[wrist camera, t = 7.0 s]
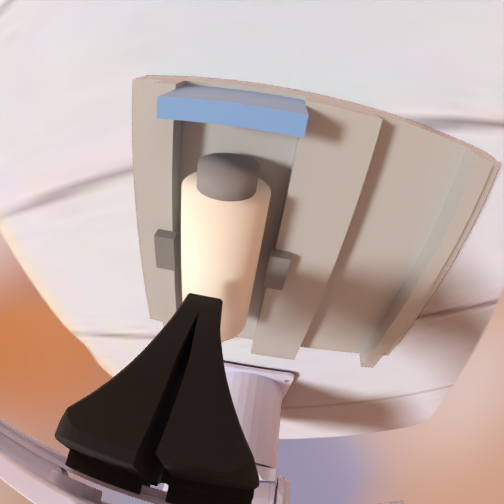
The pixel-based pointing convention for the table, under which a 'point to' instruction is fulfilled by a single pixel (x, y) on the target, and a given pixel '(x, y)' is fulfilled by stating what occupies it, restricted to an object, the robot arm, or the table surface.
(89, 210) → the table surface
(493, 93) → the table surface
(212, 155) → the cream cylinder
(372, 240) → the beige mounting plate
